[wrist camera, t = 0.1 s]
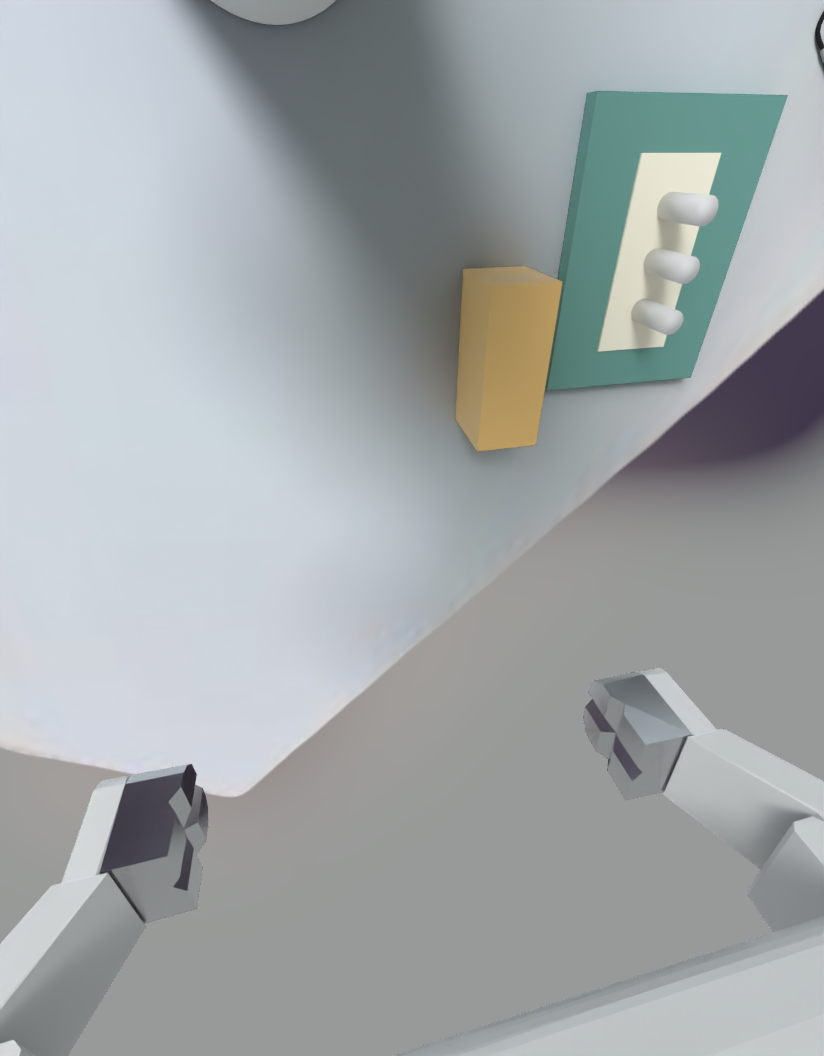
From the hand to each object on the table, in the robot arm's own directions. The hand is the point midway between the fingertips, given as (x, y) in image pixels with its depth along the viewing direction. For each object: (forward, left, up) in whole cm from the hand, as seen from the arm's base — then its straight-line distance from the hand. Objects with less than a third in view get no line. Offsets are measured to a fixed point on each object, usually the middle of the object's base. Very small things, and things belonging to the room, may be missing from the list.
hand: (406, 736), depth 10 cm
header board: (-2, +30, -39) cm, 49 cm away
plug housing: (+5, +16, -39) cm, 42 cm away
